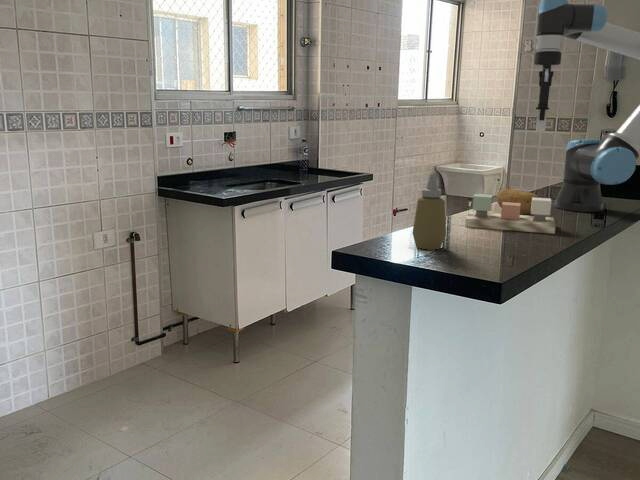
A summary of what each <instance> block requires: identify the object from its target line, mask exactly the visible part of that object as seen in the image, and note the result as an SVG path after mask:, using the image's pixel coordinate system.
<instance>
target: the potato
mask: <svg viewBox="0 0 640 480" xmlns="http://www.w3.org/2000/svg"><path fill="white" fill-rule="evenodd" d="M532 197H534V198H541V197H540V196H539V195H537V194H536V193H533V192H528V191H524V190H521V189H513V188H503V189H501V190H499V191H498V192H497V195H496V202H497V204H498V206H499V207H500V209H502V202H511V203H521V206H520V215H526V216H529V215H530V214H531V204H532Z"/></svg>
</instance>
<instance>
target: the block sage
mask: <svg viewBox="0 0 640 480" xmlns="http://www.w3.org/2000/svg"><path fill="white" fill-rule="evenodd" d="M492 204H493V194H483V193H475V194H473V199H472V210H473V211H475V212H476V217H487V213H488V212H491V210H492Z"/></svg>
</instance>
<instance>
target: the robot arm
mask: <svg viewBox="0 0 640 480" xmlns="http://www.w3.org/2000/svg"><path fill="white" fill-rule="evenodd" d="M539 2H540V3H539V6H538V13H537V14H538V16H537V31H536V32H537V33H536V39H534V40H533V43H535V52H534V61H533V64H534V65H535V66H542V70H540V71H538V78H539V79H538V86H539V96H538V104H537V107H535V110H537V113H536V115H537V116H536V122H535V123H536V125H535V132H542V133H543V132H546V126H547V117H548V111H549V110H550V107H549V97H550V90H551V89H550V87H551V86H552V81H553V77H554V71H553V70H552V66H560V65H561V62H562V54H563V53H562V52H561V51H562V50H563V45H564V38H567V39H570V40H575V41H578V42H581V43H585V44H587V45H590V46H594V47H597V48H600V49H603V50H607V51H610V52H613V53H617V54H620V55H623V56H626V57H630V58H633V59H636V60H639V61H640V32H638V31H635V30H632V29H628V28H625V27H622V26H619V25H615V24H612V23H609V22H607V18H608V10H607V8H606V6H604V5H602V4H595V3H593V4H583V3H582V4H579V3H574V4H573V3H568V2H569V1H568V0H540V1H539ZM639 157H640V103H639V104H638V106H636V108H635V109H634V110H633V111H632V112H631V114H630V115H629V116H627V118H626V119H625V121H623V123H622V124H621V125H620V127H619V128H618V129H617V130H616V131H615V132H611V133H607V134H606V135H605V137H603V139H576V140H575V139H574V140H570V141H568V143H567V146H566V150H565V162H564V170H563V171H564V172H563V179H562V185H561V187H560V189H559V190H560V191H559V192H558V195H557V197H556V199H555V204H554V207H555V208H557V209H561V210H566V211H573V212H584V213H585V212H586V213H589V212H590V213H592V212H593V213H596V212H597V213H598V212H602V211H604V201H603V196H602V192H601V191H602V190H601V184H602V185H609V186H610V185H611V186H612V185H613V186H615V185H619V184H622V183H624V182H626V181H627V180H628V179H630V178H631V176H632V175H633V174H634V172H635V171H636V164H637V160H638V158H639Z"/></svg>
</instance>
